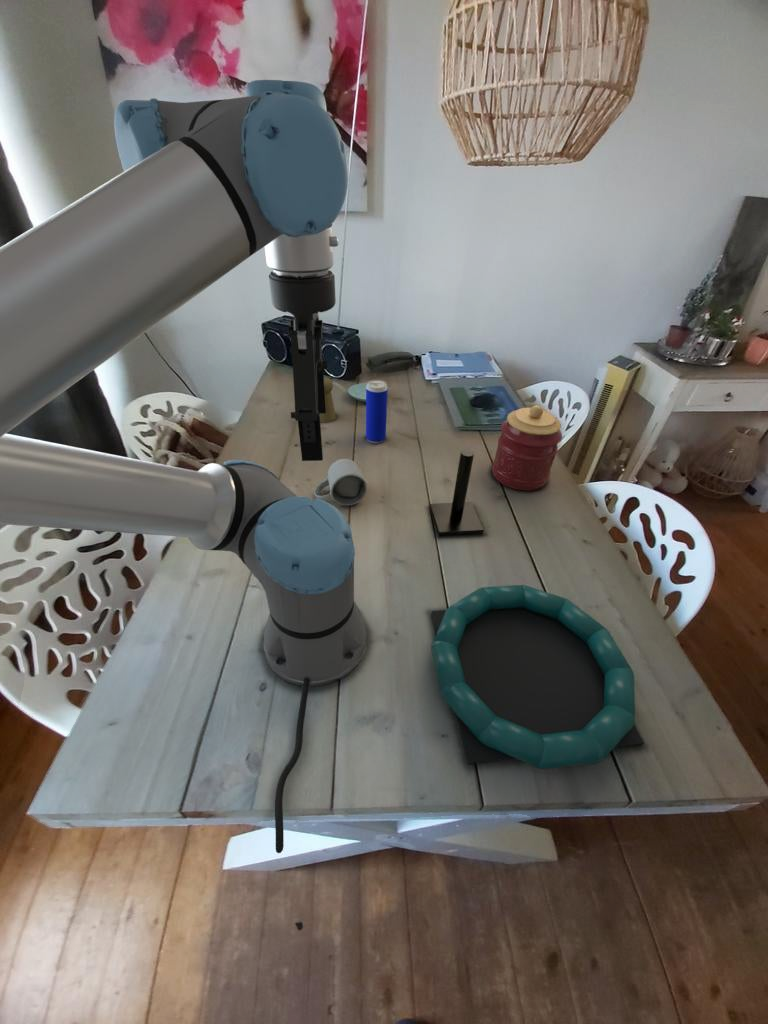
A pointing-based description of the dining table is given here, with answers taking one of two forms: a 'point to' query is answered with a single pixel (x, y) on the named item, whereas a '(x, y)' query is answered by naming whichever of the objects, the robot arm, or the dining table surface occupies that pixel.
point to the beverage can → (376, 411)
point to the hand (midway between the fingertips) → (315, 434)
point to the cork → (328, 402)
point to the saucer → (358, 391)
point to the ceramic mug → (343, 483)
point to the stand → (458, 505)
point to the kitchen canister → (527, 448)
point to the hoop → (514, 738)
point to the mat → (529, 676)
